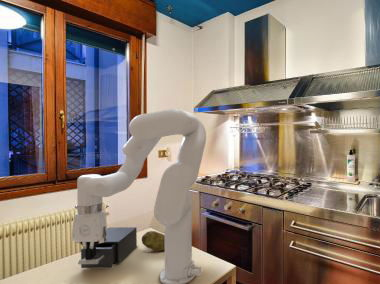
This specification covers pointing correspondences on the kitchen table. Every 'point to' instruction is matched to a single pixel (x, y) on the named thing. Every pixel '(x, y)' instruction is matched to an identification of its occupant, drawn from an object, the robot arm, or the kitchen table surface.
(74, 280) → the kitchen table surface
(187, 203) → the robot arm
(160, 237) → the potato
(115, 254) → the handled dark box
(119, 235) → the dark gray cabinet
